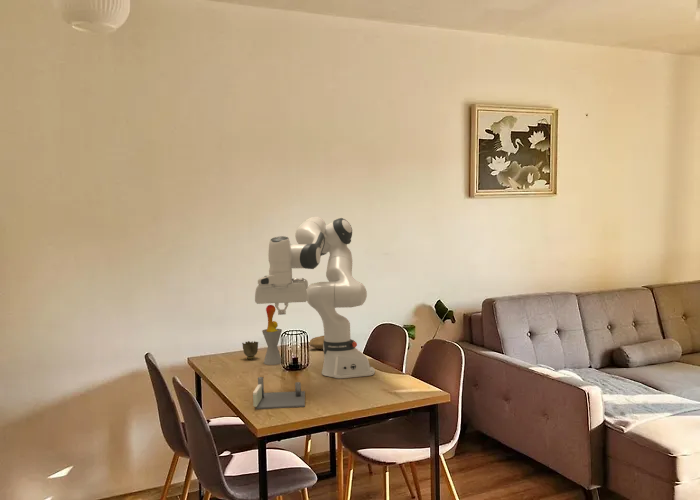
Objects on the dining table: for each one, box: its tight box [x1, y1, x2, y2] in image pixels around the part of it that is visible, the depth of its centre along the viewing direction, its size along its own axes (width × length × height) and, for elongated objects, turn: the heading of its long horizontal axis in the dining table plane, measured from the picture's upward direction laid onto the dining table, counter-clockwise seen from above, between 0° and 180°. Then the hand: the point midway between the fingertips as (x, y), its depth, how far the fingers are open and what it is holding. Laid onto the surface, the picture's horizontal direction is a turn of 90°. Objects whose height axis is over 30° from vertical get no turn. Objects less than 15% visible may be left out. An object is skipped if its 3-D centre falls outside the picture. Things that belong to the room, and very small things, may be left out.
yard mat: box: [255, 390, 306, 410], centre depth 226 cm, size 17×18×1 cm
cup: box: [241, 340, 259, 361], centre depth 295 cm, size 8×7×8 cm
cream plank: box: [252, 383, 262, 408], centre depth 222 cm, size 11×1×5 cm, turn 178°
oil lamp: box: [308, 335, 324, 350], centre depth 313 cm, size 11×15×8 cm
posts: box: [257, 376, 302, 398], centre depth 229 cm, size 16×2×8 cm, turn 94°
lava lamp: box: [261, 304, 283, 366], centre depth 286 cm, size 9×9×35 cm
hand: (281, 314), depth 241 cm, fingers closed
